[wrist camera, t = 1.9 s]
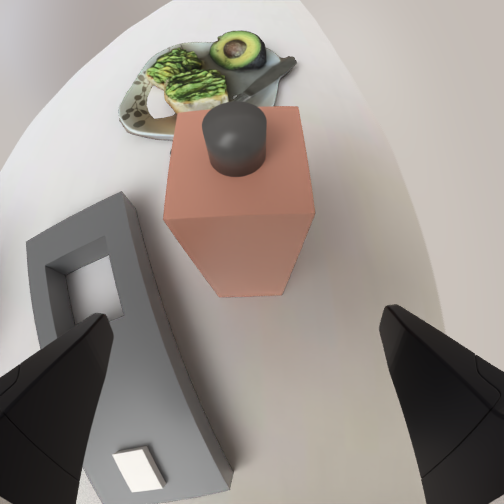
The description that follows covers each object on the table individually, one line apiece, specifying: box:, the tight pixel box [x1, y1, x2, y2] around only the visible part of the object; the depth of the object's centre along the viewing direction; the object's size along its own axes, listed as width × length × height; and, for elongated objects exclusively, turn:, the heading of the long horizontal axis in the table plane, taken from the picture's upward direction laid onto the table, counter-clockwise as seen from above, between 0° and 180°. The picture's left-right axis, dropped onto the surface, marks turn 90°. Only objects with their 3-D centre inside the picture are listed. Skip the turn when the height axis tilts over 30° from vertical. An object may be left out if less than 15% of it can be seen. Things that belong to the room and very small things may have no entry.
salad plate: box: [118, 31, 297, 154], centre depth 25 cm, size 19×18×5 cm
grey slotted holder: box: [26, 191, 233, 504], centre depth 17 cm, size 22×10×4 cm, turn 22°
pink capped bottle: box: [163, 101, 315, 297], centre depth 14 cm, size 4×4×14 cm
